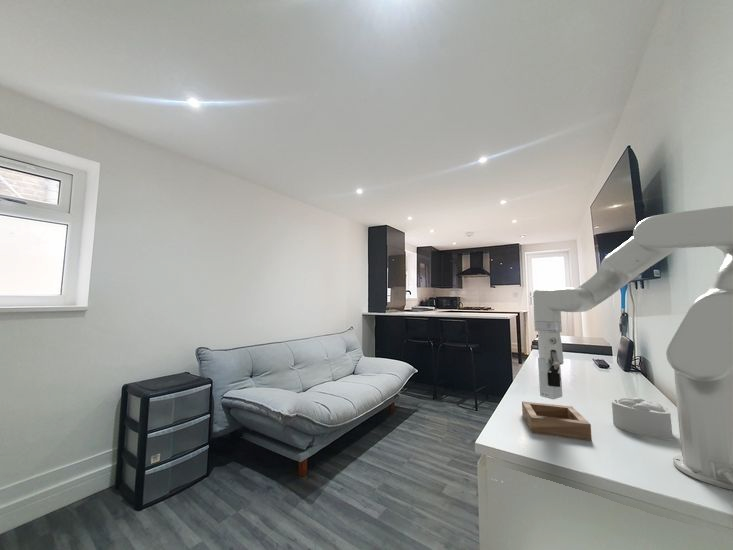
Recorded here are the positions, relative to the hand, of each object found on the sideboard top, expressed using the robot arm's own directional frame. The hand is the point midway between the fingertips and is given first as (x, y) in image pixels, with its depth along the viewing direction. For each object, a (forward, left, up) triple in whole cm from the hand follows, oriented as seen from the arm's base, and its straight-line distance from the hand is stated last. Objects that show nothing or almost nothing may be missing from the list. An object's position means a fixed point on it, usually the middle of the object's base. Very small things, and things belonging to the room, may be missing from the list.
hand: (550, 382), depth 92 cm
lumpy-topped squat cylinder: (+7, -25, -14) cm, 30 cm away
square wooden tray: (0, 0, -13) cm, 13 cm away
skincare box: (0, 0, -4) cm, 4 cm away
